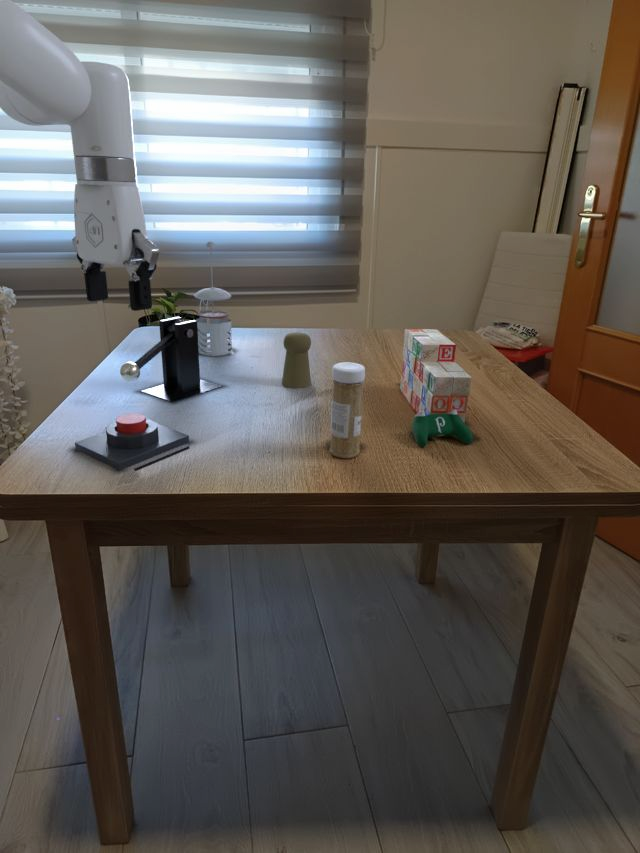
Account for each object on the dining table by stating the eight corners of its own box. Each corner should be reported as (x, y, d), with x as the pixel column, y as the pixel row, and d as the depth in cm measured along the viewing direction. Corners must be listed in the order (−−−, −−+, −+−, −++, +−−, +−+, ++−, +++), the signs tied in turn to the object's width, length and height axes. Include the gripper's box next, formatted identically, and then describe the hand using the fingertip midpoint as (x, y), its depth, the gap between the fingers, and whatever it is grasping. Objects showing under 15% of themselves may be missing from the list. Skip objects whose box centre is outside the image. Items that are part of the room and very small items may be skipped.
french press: (201, 363, 125) (195, 243, 116) (184, 350, 134) (178, 238, 125) (243, 358, 130) (241, 243, 120) (224, 346, 139) (220, 238, 129)
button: (129, 437, 79) (127, 426, 78) (111, 430, 81) (109, 418, 80) (152, 429, 82) (151, 417, 81) (134, 422, 84) (133, 411, 83)
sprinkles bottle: (365, 456, 84) (371, 368, 79) (338, 461, 82) (343, 372, 77) (349, 444, 88) (354, 359, 83) (323, 449, 86) (326, 363, 81)
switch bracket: (173, 408, 99) (168, 330, 94) (140, 397, 104) (133, 321, 99) (223, 391, 108) (220, 319, 103) (190, 381, 113) (186, 312, 108)
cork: (300, 396, 108) (302, 338, 103) (274, 390, 110) (274, 333, 106) (317, 388, 112) (319, 332, 108) (292, 382, 115) (293, 328, 111)
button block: (120, 478, 76) (117, 450, 74) (76, 456, 81) (72, 430, 79) (189, 448, 85) (188, 423, 83) (146, 431, 90) (144, 407, 88)
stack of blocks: (464, 431, 95) (474, 358, 90) (427, 431, 94) (435, 358, 89) (430, 389, 114) (437, 328, 110) (399, 389, 114) (404, 327, 109)
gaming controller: (466, 449, 92) (458, 415, 94) (476, 441, 89) (467, 405, 91) (412, 453, 90) (405, 418, 92) (420, 444, 87) (412, 408, 89)
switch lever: (133, 387, 95) (124, 372, 93) (121, 383, 97) (112, 368, 95) (193, 335, 103) (186, 320, 101) (181, 332, 104) (174, 317, 102)
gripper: (42, 171, 77) (59, 299, 83) (125, 173, 68) (137, 317, 75) (91, 173, 83) (103, 294, 89) (173, 176, 74) (181, 309, 80)
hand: (119, 304), depth 82 cm, fingers open, 9 cm apart
